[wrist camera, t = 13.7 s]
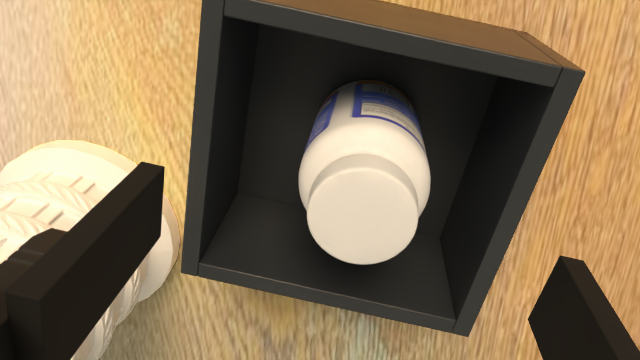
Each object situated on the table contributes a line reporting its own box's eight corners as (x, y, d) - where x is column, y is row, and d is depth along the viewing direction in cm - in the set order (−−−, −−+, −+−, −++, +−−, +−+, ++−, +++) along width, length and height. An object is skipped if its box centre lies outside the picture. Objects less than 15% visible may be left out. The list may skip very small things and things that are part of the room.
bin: (527, 32, 24) (586, 71, 17) (447, 245, 30) (468, 337, 23) (252, -28, 24) (202, -12, 17) (225, 195, 30) (180, 273, 23)
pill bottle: (341, 186, 28) (324, 300, 19) (298, 101, 26) (258, 185, 17) (434, 152, 27) (460, 258, 18) (396, 58, 25) (406, 127, 16)
